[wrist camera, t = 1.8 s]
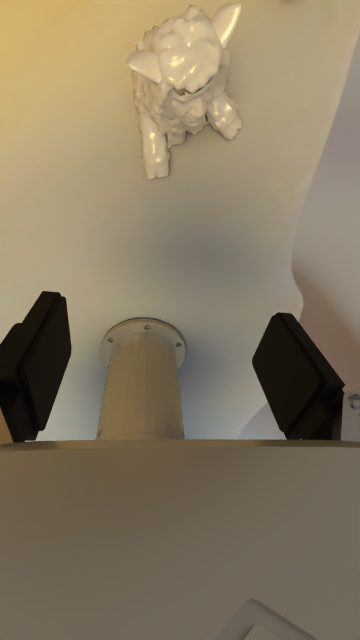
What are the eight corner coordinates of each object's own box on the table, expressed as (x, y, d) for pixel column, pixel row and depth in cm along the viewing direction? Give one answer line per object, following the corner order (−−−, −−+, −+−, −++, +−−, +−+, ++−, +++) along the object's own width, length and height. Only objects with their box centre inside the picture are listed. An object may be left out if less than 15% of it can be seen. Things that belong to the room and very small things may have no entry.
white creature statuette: (150, 183, 25) (150, 218, 16) (96, 75, 20) (48, 33, 11) (240, 131, 24) (301, 135, 14) (204, -2, 19) (260, -136, 9)
